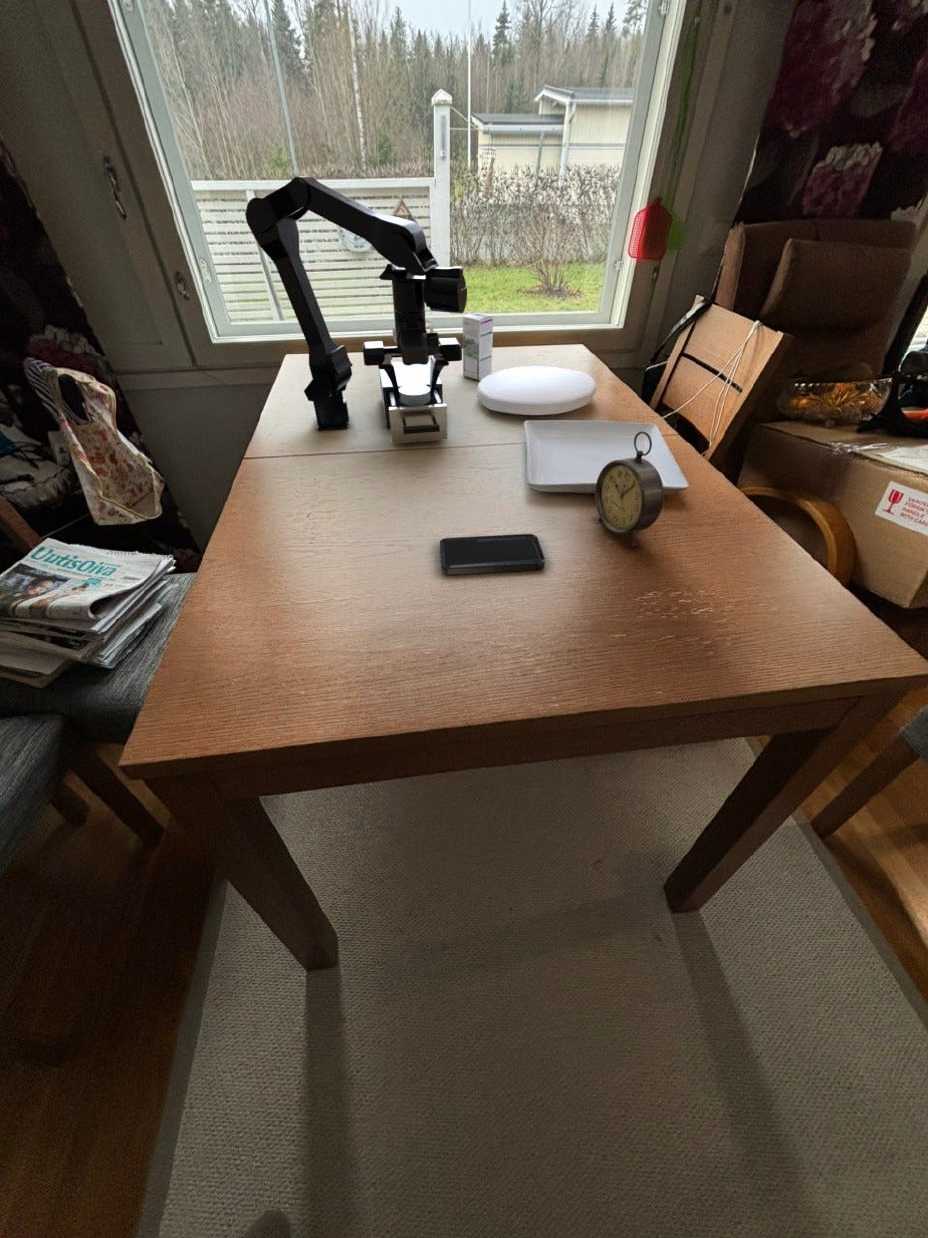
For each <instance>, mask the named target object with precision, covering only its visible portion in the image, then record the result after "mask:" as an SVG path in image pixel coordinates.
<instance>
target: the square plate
mask: <svg viewBox="0 0 928 1238" xmlns="http://www.w3.org/2000/svg"><path fill="white" fill-rule="evenodd" d="M640 431H644V432H646V433H648V434H649V436H650V437H651V440H652V447H651V450H650V452H649V453H648V454H647V455H645V456H642V459H645V460H647V461H648V462H650V463H651V464H652V465H653V466H654V467H655V468H656V470H657V471H658V473H659V475H660V477H661V480H662V483H663V489H664V496H665V495H666V496H667V495H673V494H678V493H680V492H683V491H686V490H687V489H689V488H690V485H689V482H688V481H687V479H686V477H685V475H684V474H683V471H682V470H681V467H680V466H679V464H678V462H677V460H676V459H675V457H674V455H673V453H672V452H671V450H670V448H669V446H668V444H667V442H666V440H665V438H664V436H663V435H662V433H661V431H660V429H659V428H658V426H657V425H656V424H655V423H652V422H635V421H617V420H615V421H614V420H581V419H578V420H575V419H574V420H573V419H571V420H569V419H566V420H564V419H562V420H561V419H557V420H555V419H554V420H552V419H551V420H550V419H549V420H547V419H546V420H525V421H524V422H523V432H524V439H525V447H526V481H527V485H528V486H529V487H530V488H531V489H532V490H535V491H539V492H547V493H568V494H595V490H596V483H597V479H598V477H599V475H600V472H601V471H602V469H603V468H604V467H605V466H606V465H607V464H608V463H610V462H612V461H614V460H622V459H628V458H635V457H636V456H637V455H636V453H637V451H636V450H635V446H634V438H635V436H636V434H637V433H638V432H640ZM636 447H637V450H638V451H640V450H641V451H643V454H645V453H647V452H648V450H649V447H650V443H649V439H648V437H647V436H646V435H645V434H639V435H638V437H637V439H636Z"/></svg>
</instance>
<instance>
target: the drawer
mask: <svg viewBox="0 0 928 1238" xmlns="http://www.w3.org/2000/svg"><path fill="white" fill-rule="evenodd" d="M388 393H389V403H390V408H389V415H390V425H391V428H390V435H391V443H392V444H403V443H404V444H405V443H415V442H416V443H417V442H429V441H445V440H448V439H449V438H448V435H449V434H448V405H447V403H443V404H442V402H441V400H440V397H439V395H438V392H437V390H436V388H435V390H434V394H433V397H431V400H430V402H428V403H426V404H424V405H421V406H408V405H406V404H403V403H401V402H400V399H398V398H397V396H396V393H395V391H388Z"/></svg>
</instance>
